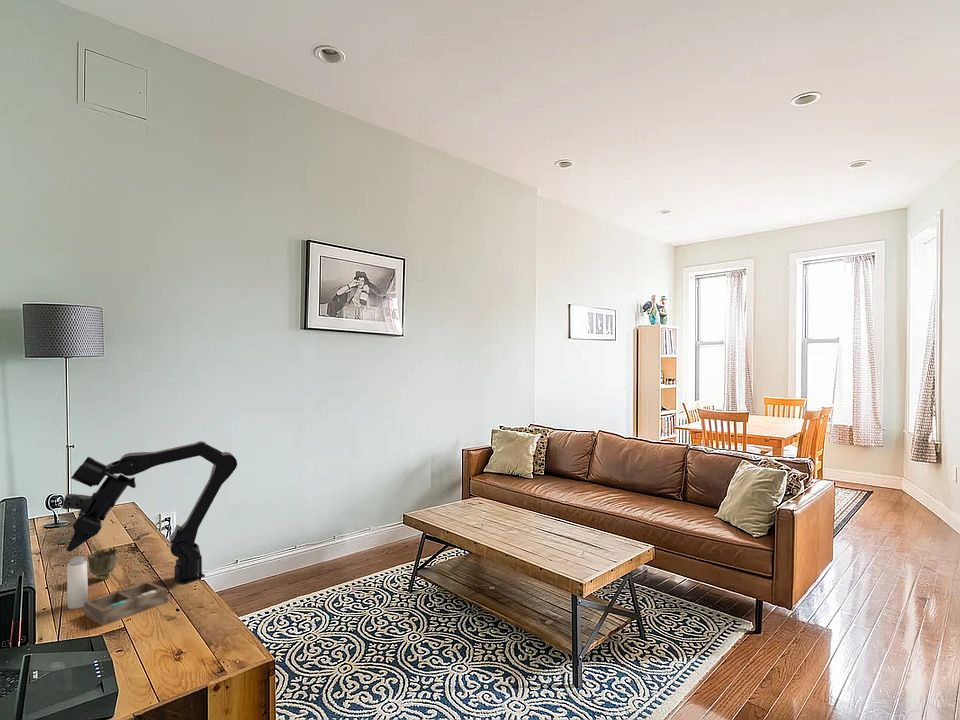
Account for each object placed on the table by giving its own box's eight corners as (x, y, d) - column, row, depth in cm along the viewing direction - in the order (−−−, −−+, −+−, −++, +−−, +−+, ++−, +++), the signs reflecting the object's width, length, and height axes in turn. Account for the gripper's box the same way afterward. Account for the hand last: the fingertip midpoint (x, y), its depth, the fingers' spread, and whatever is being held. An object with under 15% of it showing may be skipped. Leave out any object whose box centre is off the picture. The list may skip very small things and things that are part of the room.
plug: (83, 600, 152) (82, 554, 152) (90, 603, 150) (90, 557, 150) (64, 606, 149) (64, 559, 148) (71, 610, 146) (71, 563, 146)
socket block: (148, 593, 156) (148, 580, 156) (167, 601, 151) (167, 588, 151) (84, 615, 143) (84, 601, 143) (102, 625, 138) (102, 611, 137)
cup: (83, 585, 162) (83, 557, 162) (93, 575, 169) (93, 549, 169) (112, 582, 164) (112, 555, 164) (121, 572, 171) (120, 547, 171)
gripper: (82, 475, 161) (45, 524, 157) (74, 488, 145) (32, 543, 141) (120, 492, 166) (85, 540, 162) (116, 507, 150) (77, 561, 145)
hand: (70, 545), depth 152 cm, fingers open, 9 cm apart
